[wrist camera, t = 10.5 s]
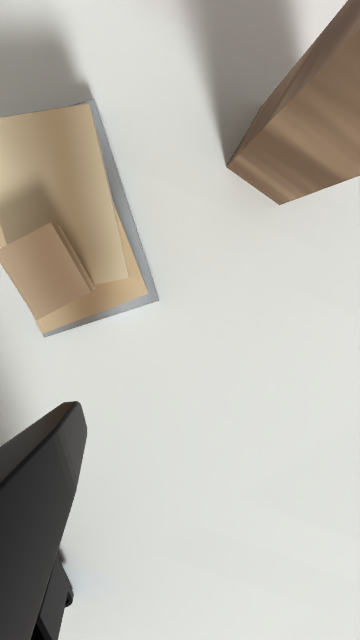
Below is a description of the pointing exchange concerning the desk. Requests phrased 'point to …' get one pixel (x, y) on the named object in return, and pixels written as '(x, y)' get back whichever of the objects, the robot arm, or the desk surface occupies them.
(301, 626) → the desk surface
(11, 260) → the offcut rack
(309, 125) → the walnut block
